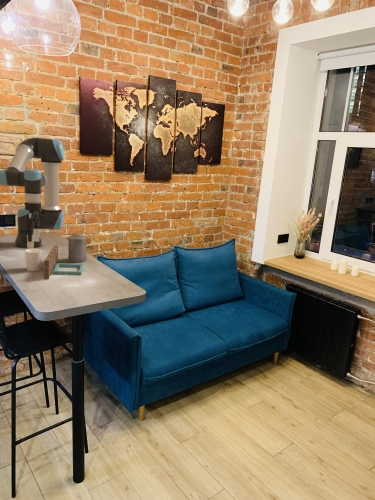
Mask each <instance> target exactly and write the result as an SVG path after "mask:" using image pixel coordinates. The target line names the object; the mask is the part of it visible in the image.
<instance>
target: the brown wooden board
mask: <svg viewBox="0 0 375 500" xmlns="http://www.w3.org/2000/svg"><path fill="white" fill-rule="evenodd" d="M43 263H44V264H43V267H44V268H43V270H44V271H43V273H44V274H43V275H44V276H43V277H44V278H43V279H44V280H49V279H50V278H49V277H51V276H52V274H53V271H54V269H55V267H56V265H57V263H59V247H58V245H54V246H53V247H52V248H51V249H50V252H49V253H48V255H47V256H46V258H45V259H44V262H43Z"/></svg>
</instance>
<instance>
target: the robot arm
mask: <svg viewBox="0 0 375 500" xmlns="http://www.w3.org/2000/svg"><path fill="white" fill-rule="evenodd" d="M32 159H40V163H41V164H42V165H43V173H42V172H41V170H39V169H35V168H34V169H28V168H27V169H26V167H27V165H28V163H29V161H31V160H32ZM63 161H65V148H64V145H63V141H61V140H60V139H54V138H42V137H40V138H39V137H30V138H26V139H24V140H23V141H21V142H20V143H18V144H17V145H16V148H15V154H13V157H12V158H11V160H10V162H9V164H8V166H6V169H0V186H4V187H5V186H6V187H21V188H22V187H23V188H24V193H23V194H24V201H25V202H24V207H21V208H19V209H18V210H17V216H16V217H17V234H16V236H15V240H14V246H15V247H18V248H24V249H25V248H26V249H31V248H37V247H41V246H42V244H43V243H42V239H41V235H40V230H52V231H54V230H55V231H56V230H57V231H58V230H61V229H62V228H63V225H64V221H65V220H64V219H65V211H62V207H61V206H60V166H61V165H62V164H63V163H62V162H63ZM42 188H43V195H42ZM42 198H43V206H42Z"/></svg>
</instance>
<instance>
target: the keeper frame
mask: <svg viewBox="0 0 375 500" xmlns="http://www.w3.org/2000/svg"><path fill="white" fill-rule="evenodd" d="M59 268H79V269H78V271H76V270H59ZM83 270H84V263H63V262H62V263H61V262H60V263H59V262H58V263H57V264H56V266H55V268H54V270H53V272H52V274H53V275H65V274H68V275H70V276H71V275H73V276H75V275H76V276H81V275H82V272H83Z"/></svg>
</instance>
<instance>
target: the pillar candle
mask: <svg viewBox="0 0 375 500" xmlns="http://www.w3.org/2000/svg"><path fill="white" fill-rule="evenodd" d="M67 252H68V259H67V260H68V261H69V262H71V263H73V264H80V263H84V262H86V261H87V236H86V235H83V234H72V235H69V236H68V251H67Z"/></svg>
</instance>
